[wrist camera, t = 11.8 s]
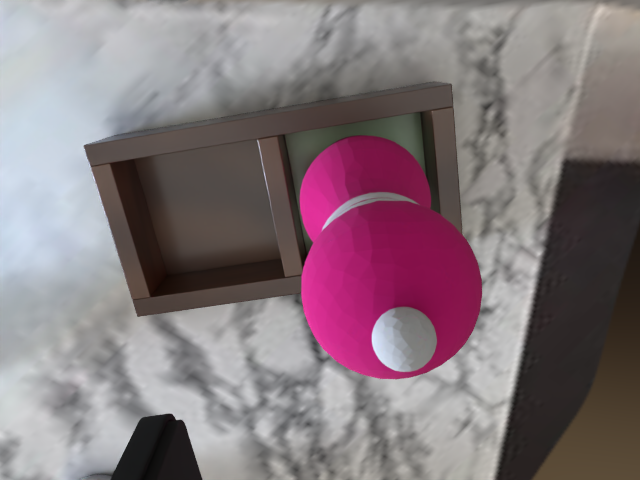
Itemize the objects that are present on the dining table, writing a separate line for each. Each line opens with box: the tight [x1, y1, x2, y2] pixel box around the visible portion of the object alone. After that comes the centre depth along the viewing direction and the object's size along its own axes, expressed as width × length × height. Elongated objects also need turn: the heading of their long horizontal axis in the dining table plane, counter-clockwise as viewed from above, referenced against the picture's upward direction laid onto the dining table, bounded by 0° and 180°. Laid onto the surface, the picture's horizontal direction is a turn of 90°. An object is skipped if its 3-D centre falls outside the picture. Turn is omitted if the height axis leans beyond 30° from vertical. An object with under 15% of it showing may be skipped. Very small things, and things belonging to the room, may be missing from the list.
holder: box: [84, 82, 463, 317], centre depth 31 cm, size 11×21×4 cm, turn 99°
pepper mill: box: [300, 135, 482, 379], centre depth 22 cm, size 7×7×20 cm
